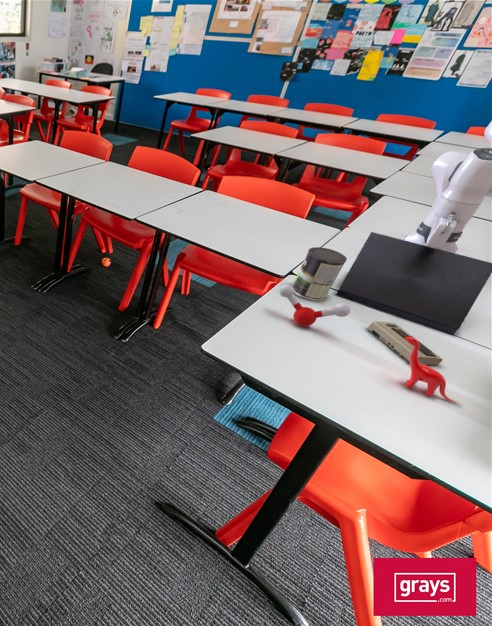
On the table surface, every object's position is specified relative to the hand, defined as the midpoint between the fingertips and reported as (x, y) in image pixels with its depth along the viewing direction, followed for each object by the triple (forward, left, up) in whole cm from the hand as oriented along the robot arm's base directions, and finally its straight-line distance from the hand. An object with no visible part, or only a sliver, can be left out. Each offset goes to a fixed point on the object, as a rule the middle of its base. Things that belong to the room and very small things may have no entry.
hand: (426, 251), depth 129 cm
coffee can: (+20, -22, -17) cm, 34 cm away
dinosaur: (+51, +9, -17) cm, 54 cm away
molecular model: (+42, -19, -17) cm, 49 cm away
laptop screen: (+7, 0, -7) cm, 10 cm away
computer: (+33, +4, -17) cm, 37 cm away
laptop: (+4, 0, -16) cm, 17 cm away
